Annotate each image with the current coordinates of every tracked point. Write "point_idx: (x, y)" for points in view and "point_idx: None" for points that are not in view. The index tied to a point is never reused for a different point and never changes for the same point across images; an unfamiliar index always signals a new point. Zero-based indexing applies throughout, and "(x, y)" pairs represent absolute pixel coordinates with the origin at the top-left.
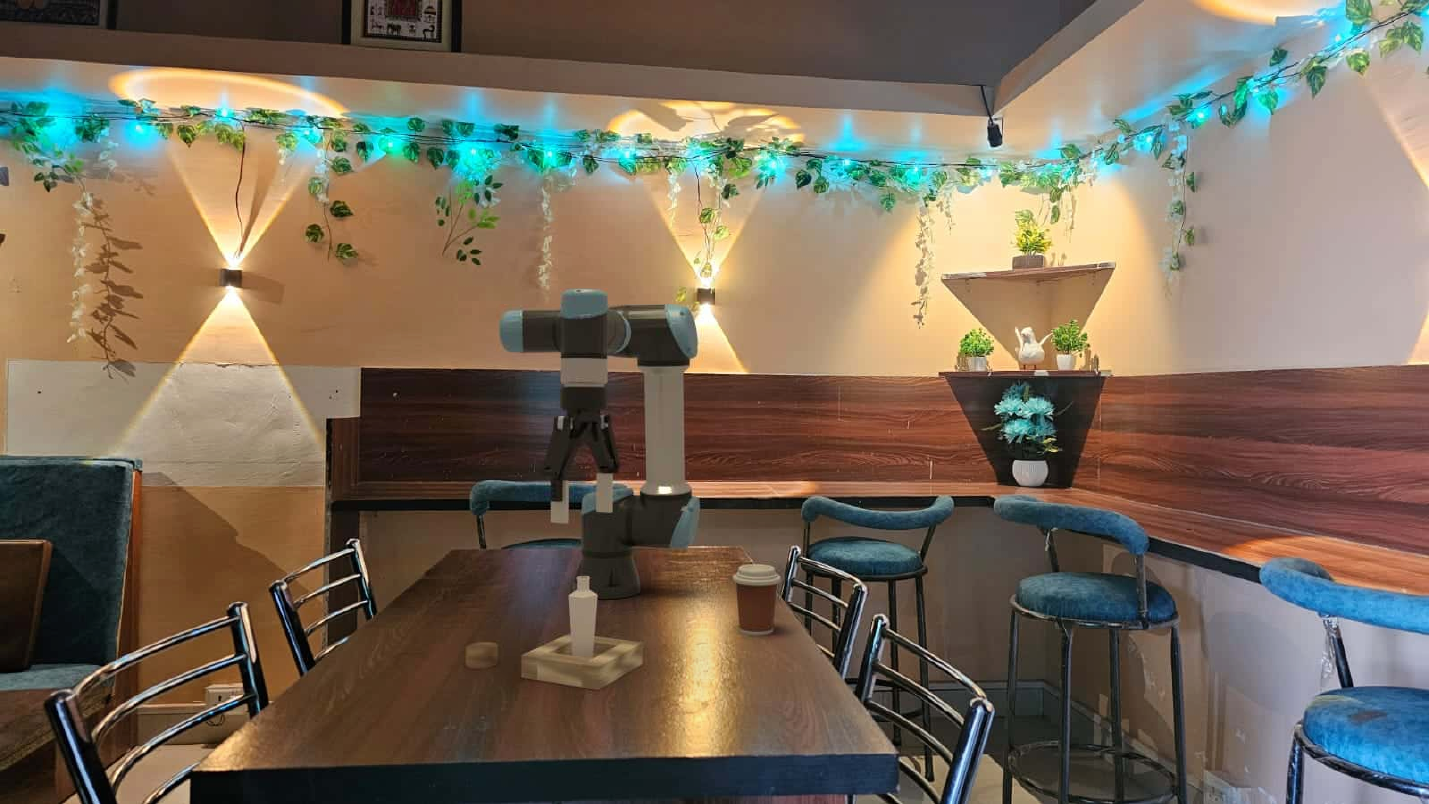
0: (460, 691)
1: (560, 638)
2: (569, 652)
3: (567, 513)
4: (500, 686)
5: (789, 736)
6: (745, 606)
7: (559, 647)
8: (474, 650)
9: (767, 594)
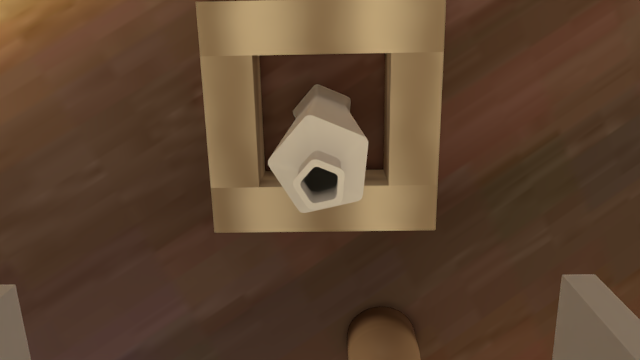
0: (548, 267)
1: (270, 227)
2: None
3: (603, 308)
4: (492, 215)
5: None
6: None
7: None
8: (417, 355)
9: None
